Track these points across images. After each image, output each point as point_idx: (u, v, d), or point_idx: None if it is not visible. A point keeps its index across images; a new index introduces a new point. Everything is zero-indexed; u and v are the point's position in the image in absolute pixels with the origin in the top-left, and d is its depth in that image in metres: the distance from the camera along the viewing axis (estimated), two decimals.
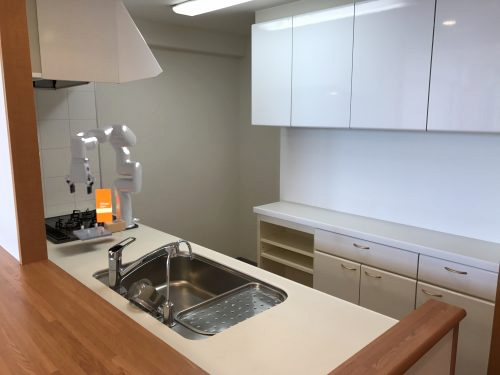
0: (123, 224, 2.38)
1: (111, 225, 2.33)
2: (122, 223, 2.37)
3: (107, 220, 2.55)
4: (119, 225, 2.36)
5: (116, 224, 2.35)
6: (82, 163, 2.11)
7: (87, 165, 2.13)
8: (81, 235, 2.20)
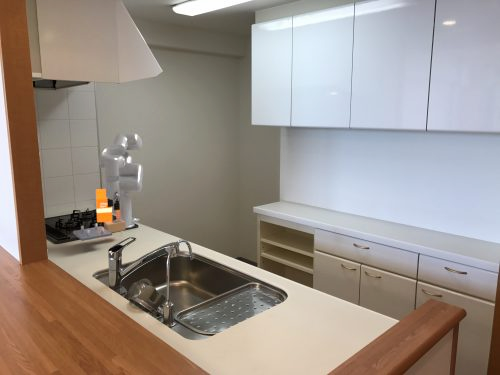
0: (123, 224, 2.38)
1: (111, 225, 2.33)
2: (122, 223, 2.37)
3: (107, 220, 2.55)
4: (119, 225, 2.36)
5: (116, 224, 2.35)
6: None
7: None
8: (81, 235, 2.20)
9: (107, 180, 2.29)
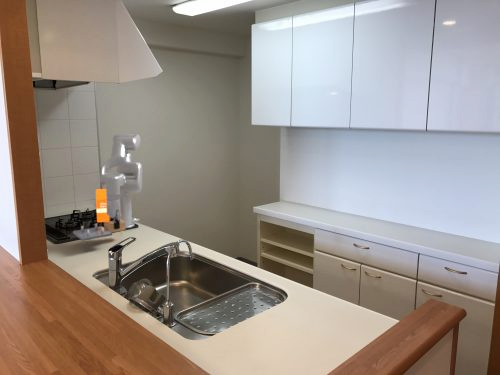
0: (123, 224, 2.38)
1: (111, 225, 2.33)
2: (122, 223, 2.37)
3: (107, 220, 2.55)
4: None
5: None
6: None
7: None
8: (81, 235, 2.20)
9: (108, 199, 2.31)
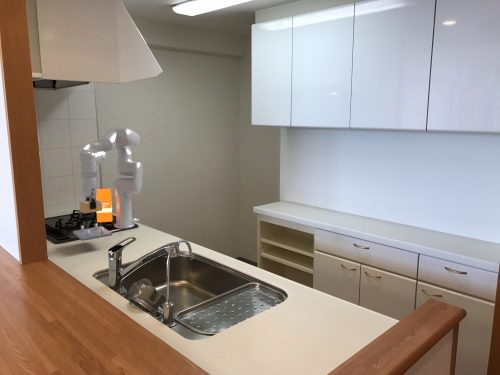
0: (100, 204, 2.23)
1: (87, 205, 2.18)
2: (99, 203, 2.22)
3: (107, 220, 2.55)
4: (96, 205, 2.22)
5: None
6: None
7: None
8: (81, 235, 2.20)
9: (83, 176, 2.16)
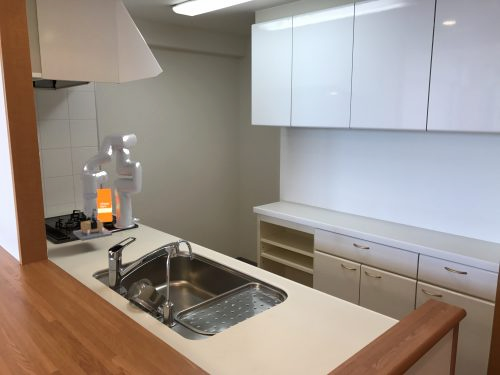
0: (101, 224, 2.25)
1: (88, 225, 2.21)
2: (100, 223, 2.25)
3: (107, 220, 2.55)
4: (97, 225, 2.24)
5: None
6: None
7: None
8: (81, 235, 2.20)
9: (84, 197, 2.19)
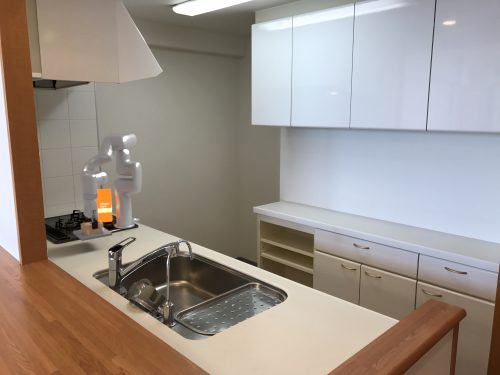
0: (101, 225, 2.25)
1: (88, 226, 2.21)
2: (100, 224, 2.25)
3: (107, 220, 2.55)
4: None
5: None
6: None
7: None
8: (81, 235, 2.20)
9: (85, 198, 2.19)
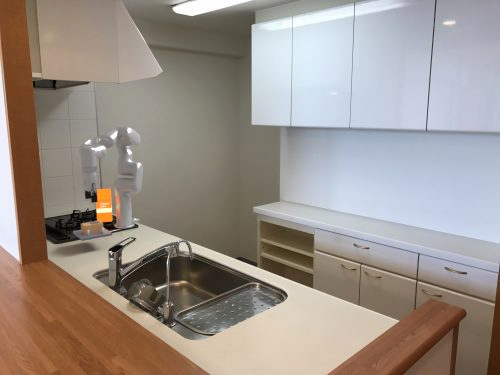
0: (101, 225, 2.25)
1: (88, 226, 2.21)
2: (100, 224, 2.25)
3: (107, 220, 2.55)
4: (97, 226, 2.24)
5: (93, 225, 2.23)
6: None
7: None
8: (81, 235, 2.20)
9: (83, 171, 2.17)
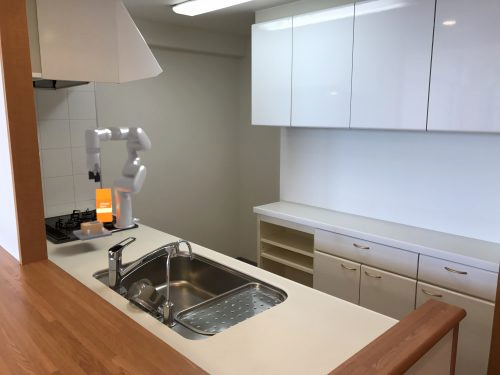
0: (101, 225, 2.25)
1: (88, 226, 2.21)
2: (100, 224, 2.25)
3: (107, 220, 2.55)
4: (97, 226, 2.24)
5: (93, 225, 2.23)
6: None
7: None
8: (81, 235, 2.20)
9: (87, 152, 2.28)
